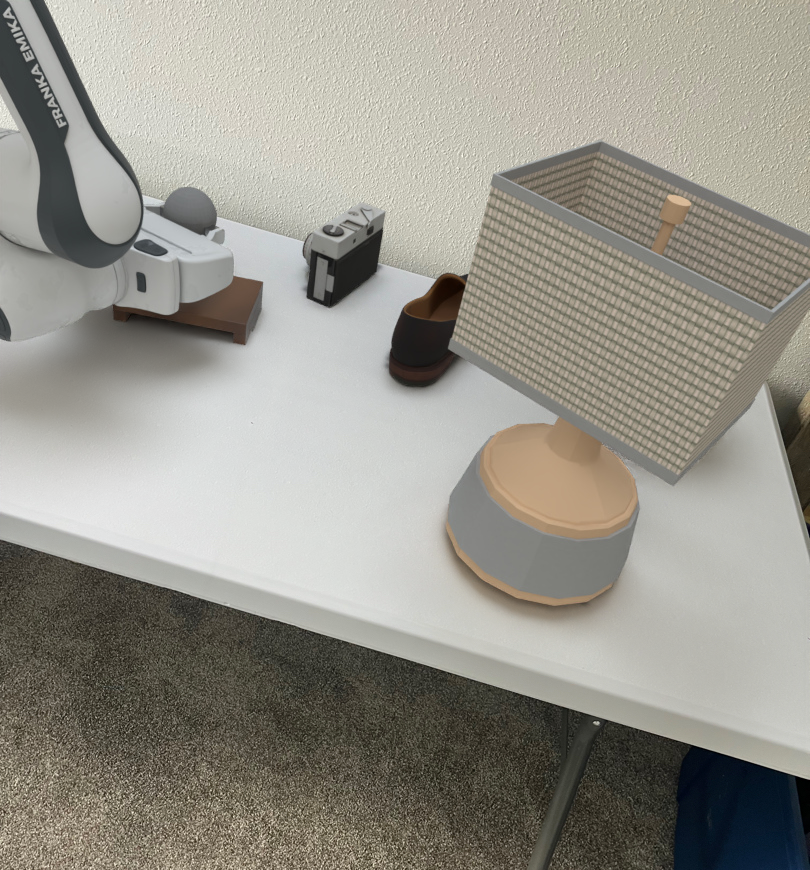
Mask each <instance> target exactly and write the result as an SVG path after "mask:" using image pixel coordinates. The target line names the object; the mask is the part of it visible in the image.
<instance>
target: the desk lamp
mask: <svg viewBox="0 0 810 870" xmlns="http://www.w3.org/2000/svg"><path fill="white" fill-rule="evenodd" d="M489 185H490V191H489V194H488V197H487V201H486V206H485V210H484V214H483V218H482V220H481V224H480V229H479V233H478V237H477V240H476V243H475V249H474V252H473V257H472V260H471V264H470V268H469V271H468V274H469V275H468V279H467V282H466V286H465V290H464V294H463V298H462V302H461V306H460V309H459V313H458V317H457V321H456V325H455V329H454V332H453V336H452V338H451V339H450V343H449V346H448V349H449V350H451V351H452V352H454V353H456V354H455V355H457V356H459V357H461V358H462V359H464V360H465V361H467V362H469V363H470V364H472V365H474V366H475V367H477V368H478V369H480V370H481V371H483V372H485V373H487V374H488V375H490V376H491V377H493V378H494V379H497V380H498V381H499V382H502V384H505V385H506V386H508V387H510V388H511V389H513V390H514V391H516V392H518V393H520V394H521V395H522V396H524V397H526V398H527V399H529V400H531V401H532V402H534V403H536V404H538V405H539V406H541V407H543V408H544V409H546V410H547V411H549V412H551V413H552V414H554V415H556V416H557V419H556V421H555V422H554V424H550V423H547V422H546V423H545V422H541V423H540V422H539V423H537V422H536V423H517V424H514V425H512V426H509V427H506V428H504V429H502V430H499V431H496V432H495V433H494V434H493V435H490V436H489V437H488V438H487V439H486V441H485V442H484V443H483V444H482V446H481V447H480V448H479V450H477V452H476V453H475V455H474V457H473V458H472V460H471V461H470V463H469V464H468V466H467V468H466V469H465V471H463V472H464V473H463V474H462V475H461V477H460V479H459V480H458V482H457V483H456V485H455V486H454V488H453V490H452V491H451V493H450V495H449V500H448V504H447V513H446V524H445V526H446V527H445V529H446V532H447V535H448V536H449V539H450V541H451V543H452V546H453V548H454V551H455V553H456V556H457V557H459V558H460V559H461V560H462V561H463V562H464V564H465V565H466V566H468V568H469V569H471V571H472V572H474V574H476V575H477V577H479V578H480V580H482V581H484V582H485V583H487V584H489V585H491V586H493V587H495V588H497V589H499V590H500V591H502V592H503V593H506V594H508V595H509V596H512V597H513V598H516V599H519V600H523V601H527V602H528V601H529V602H534V603H539V604H543V605H549V606H553V607H556V606H565V605H572V604H573V605H574V604H580V603H581V604H582V603H587V602H589V601H591V600H593V599H595V598H596V597H598V596H599V595H601V594H603V593H604V592H607V590H609V589H611V588H612V586H613V585H614V583H615V582H616V581H618V578H619V577H620V575H621V573H622V570H623V568H624V566H625V564H626V561H627V560H628V557H629V554H630V549H631V545H632V541H633V538H634V533H635V530H636V525H637V521H638V518H639V513H640V510H641V505H640V499H639V493H638V487H637V484H636V479H635V478H634V476H633V475H632V473H631V471H630V470H629V469H628V467H627V466H626V465H625V463H624V461H623V460H622V459H621V458H620V457H619V456H618V455H617V454H616V453H618V454H619V455H621V456H622V457H624V458H626V459H628V460H629V461H631V462H633V463H634V464H636V465H637V466H639V467H641V468H642V469H644V470H646V472H647V471H648V472H649V473H651V474H652V475H654V476H656V477H657V478H658V479H660V480H662V481H664V482H666V483H667V484H669V485H670V486H672V487H674V486H675V485H676V484H677V483H678V482H679V481H680V480H681V479H682V478H683V477H684V476H685V475H686V474H687V473H688V472H689V471H690V470H691V469H692V468H693V467H694V466H695V465H696V464H697V463H698V462H699V461H700V460H701V459H702V458H703V457H704V456H705V455H706V453H708V451H710V449H711V448H713V447H714V445H716V444H717V442H719V440H721V438H722V437H724V436H725V434H726V433H727V432H728V431H729V430H730V429H731V428H732V427H733V426H734V425H735V424H736V423H737V422H738V421H739V420H740V419H741V418H742V417H744V415H745V414H746V413H747V412H748V411H749V410H750V409H751V407H752V406H753V404H754V402H755V401H756V397H757V396H758V394H759V392H760V391H761V389H762V388H763V386H764V385H765V383H766V381H767V380H768V378H769V376H770V374H771V373H772V371H773V370H774V368H775V366H776V364H777V363H778V361H779V360H780V358H781V356H782V354H783V353H784V352H785V350H786V348H787V347H788V345H789V343H790V341H791V340H792V338H793V336H794V335H795V333H796V331H797V330H798V329H799V327H800V325H802V324H801V323H802V322H803V320H804V319H805V317H806V315H807V314H808V312H809V310H810V233H808V232H805V231H803V230H802V229H799V228H798V227H794V226H792V225H790V224H788V223H786V222H783V221H781V220H779V219H777V218H775V217H773V216H771V215H768V214H765V212H764V213H763V212H761V211H759V210H757V209H755V208H753V207H750V206H748V205H746V204H744V203H741V202H740V201H738V200H735V199H732V198H730V197H728V196H726V195H723V194H721V193H719V192H717V191H715V190H713V189H711V188H708V187H705V185H704V186H703V185H702V184H699V183H697V182H695V181H692V180H691V179H688V178H687V177H684V176H681V175H679V174H677V173H675V172H672V171H671V170H668V169H666V168H664V167H662V166H659V165H657V164H655V163H652V162H650V161H648V160H646V159H644V158H642V157H639V156H638V155H636V154H634V153H630V152H628V151H626V150H624V149H621V148H619V147H617V146H615V145H612V144H611V143H609V142H606V141H604V140H602V139H599V140H596V141H592V142H589V143H586V144H583V145H580V146H576V147H573V148H571V149H567V150H564V151H561V152H557V153H555V154H552V155H548V156H544V157H542V158H539V159H535V160H532V161H528V162H525V163H523V164H519V165H516V166H514V167H509V168H506V169H503V170H500V171H497V172H494V173H492V177H491V181H490V184H489ZM607 447H608V448H607ZM609 448H610V449H611V450H610V449H609ZM612 450H613V451H614V452H616V453H614V452H613V451H612Z"/></svg>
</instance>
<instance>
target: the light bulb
mask: <svg viewBox="0 0 810 870" xmlns="http://www.w3.org/2000/svg"><path fill="white" fill-rule="evenodd" d="M164 202H165V204H164V208H163V215H164V218H165V219H167V220H169V221H172V222H174V223H176V224H178V225H180V226H182V227H184V228H186V229H188V230H190V231H192V232H194V233H197V234H199V235H204V236H206V235H205V228H206V227H209V226H212V225H215V226H217V221H218V213H217V210H216V206H215V204H214V202H213V200H212V199H211V198H210V197H209V196H208V195H207V194H206V192H204V191H203V190H201V189H200V188H196V187H194V186H182V187H178V188H176V189H175V190H173V191H172V192H171V193H170V194H169V195H168V196H167V198H166V199H165V201H164Z"/></svg>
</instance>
